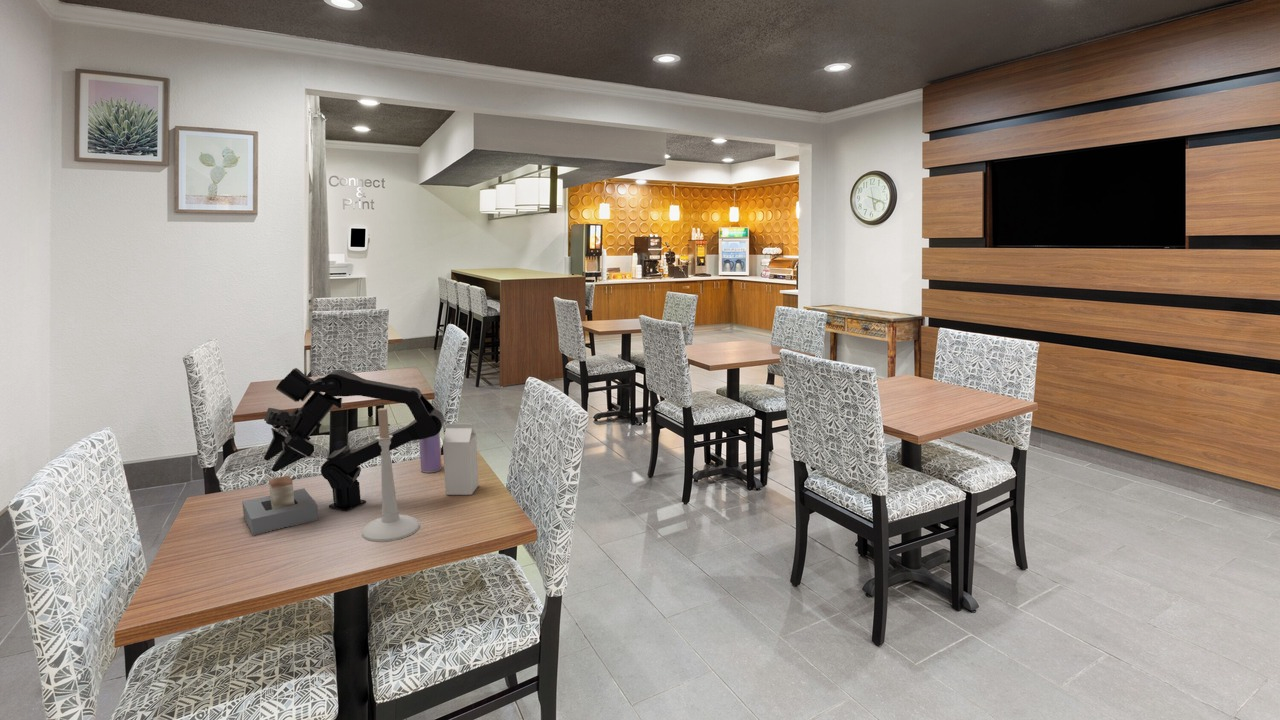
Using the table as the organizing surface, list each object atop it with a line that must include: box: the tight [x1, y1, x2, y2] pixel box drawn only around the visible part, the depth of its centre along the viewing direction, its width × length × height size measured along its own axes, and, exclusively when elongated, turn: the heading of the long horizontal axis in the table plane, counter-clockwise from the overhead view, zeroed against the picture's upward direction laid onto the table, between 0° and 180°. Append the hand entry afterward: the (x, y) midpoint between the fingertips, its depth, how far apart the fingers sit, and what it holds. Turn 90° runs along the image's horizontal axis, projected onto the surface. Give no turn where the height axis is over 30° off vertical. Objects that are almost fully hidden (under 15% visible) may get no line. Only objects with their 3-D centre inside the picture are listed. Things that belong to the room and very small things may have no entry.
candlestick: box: [361, 407, 421, 542], centre depth 149 cm, size 13×13×30 cm
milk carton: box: [442, 423, 479, 496], centre depth 175 cm, size 7×7×19 cm
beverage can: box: [418, 431, 442, 474], centre depth 192 cm, size 6×6×15 cm
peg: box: [268, 474, 295, 509], centre depth 158 cm, size 4×4×10 cm
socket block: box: [242, 488, 319, 536], centre depth 158 cm, size 14×14×4 cm
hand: (269, 465), depth 156 cm, fingers open, 9 cm apart
